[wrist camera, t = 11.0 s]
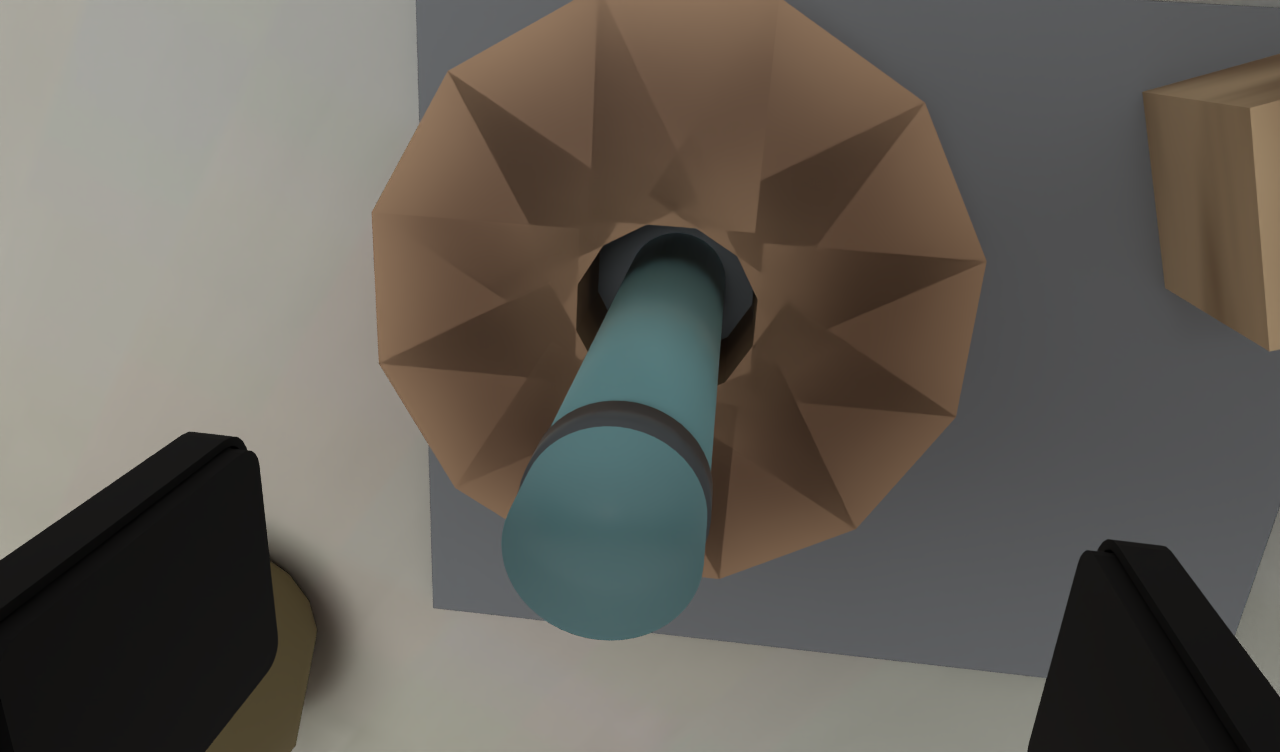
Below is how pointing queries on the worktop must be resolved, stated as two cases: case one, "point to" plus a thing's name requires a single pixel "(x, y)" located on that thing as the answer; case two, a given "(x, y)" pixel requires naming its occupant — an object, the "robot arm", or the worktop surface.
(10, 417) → the worktop surface
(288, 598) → the squeeze bottle
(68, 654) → the robot arm
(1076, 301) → the felt mat
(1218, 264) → the cube bead
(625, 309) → the teal marker pen
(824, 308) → the faceted wooden ring
